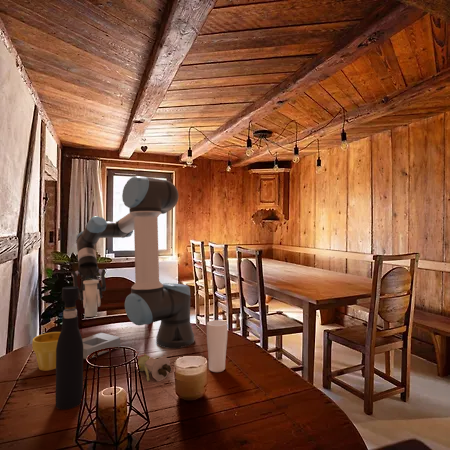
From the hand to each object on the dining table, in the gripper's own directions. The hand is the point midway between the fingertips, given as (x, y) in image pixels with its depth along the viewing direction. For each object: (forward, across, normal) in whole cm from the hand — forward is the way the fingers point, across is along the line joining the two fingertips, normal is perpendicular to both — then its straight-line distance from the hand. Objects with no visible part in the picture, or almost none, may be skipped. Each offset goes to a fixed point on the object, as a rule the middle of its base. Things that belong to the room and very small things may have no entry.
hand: (92, 305), depth 128 cm
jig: (+16, 0, -5) cm, 17 cm away
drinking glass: (+43, -32, +20) cm, 57 cm away
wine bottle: (+42, +11, +20) cm, 48 cm away
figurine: (+38, -13, +16) cm, 43 cm away
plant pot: (+22, +15, +1) cm, 27 cm away
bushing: (+1, 0, -6) cm, 6 cm away
